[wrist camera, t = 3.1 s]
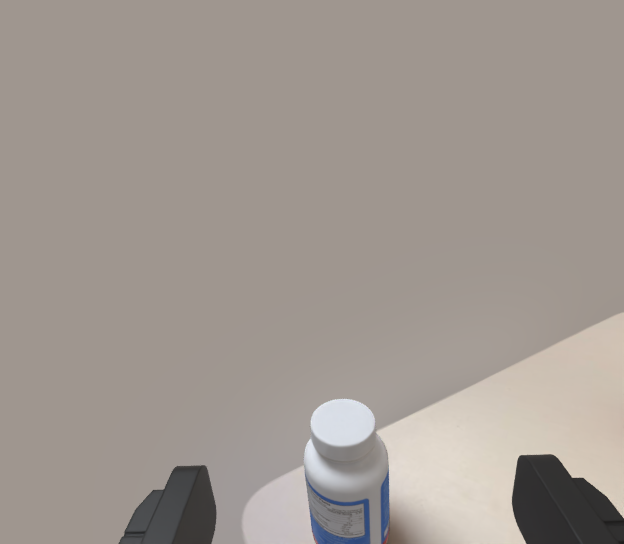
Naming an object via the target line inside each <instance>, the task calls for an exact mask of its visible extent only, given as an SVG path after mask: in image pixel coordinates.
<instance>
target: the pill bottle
mask: <svg viewBox="0 0 624 544" xmlns="http://www.w3.org/2000/svg"><path fill="white" fill-rule="evenodd" d="M310 425H311V438H310V440H309V442H308V444H307V445H306V448H305V452H304V468H305V477H306V485H307V493H308V501H309V509H310V517H311V526H312V532H313V536H314V540H315V542H316V544H387V541H388V536H389V464H388V453H387V450H386V447H385V445H384V443H383V441H382V440H381V438H380V437H379V436H378V435H377V434H376V423H375V417H374V415H373V413H372V412H371V410H370V409H369V408H368V407H367V406H365V405H364V404H362V403H360V402H358V401H354V400H350V399H336V400H331V401H329V402H326V403H324V404H322V405H321V406H320V407H318V408H317V409H316V410H315V412H314V413H313V415H312V418H311V423H310Z"/></svg>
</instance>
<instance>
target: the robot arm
mask: <svg viewBox="0 0 624 544" xmlns="http://www.w3.org/2000/svg"><path fill="white" fill-rule="evenodd" d="M512 506H513V512H514V516H515V519H516V522H517V525H518V527H519V529H520V531H521V533H522V535H523V537H524V540H525V542H526V544H624V518H623V517H622V516H621V514H620V513H619V512H618V511H617V509H616V508H615V507H614V505H613V504H612V503H611V502H610V500H609V499H608V498H607V497H606V496H605V495H604V494H602V493H601V492H600V491H599V490H597V489H596V488H595V487H594V486H592V485H591V484H590V483H589V482H587V481H586V480H585V479H584V478H572V477H571V476H570V474H569V473H568V471H567V470H566V469H565V467H564V466H563V465H562V463H561V462H560V461H559V459H558V458H557V457H556V456H554V455H551V454H548V455H521V456H519V458H518V461H517V468H516V475H515V481H514V488H513V495H512ZM215 524H216V505H215V500H214V496H213V492H212V487H211V483H210V478H209V474H208V470H207V468H206V466H204V465H202V466H177V467H175V468H174V470H173V471H172V473H171V475H170V477H169V480H168V482H167V484H166V486H165V489H164V490H153V491H152V492H151V493H150V494H149V495H148V496H147V497H146V499H145V500H144V501H143V502H142V503H141V504H140V505H139V506H138V508H137V509H136V510H135V512H134V514H133V516H132V518H131V520H130V522H129V524H128V526H127V528H126V530H125V534H124V537H122V538H121V540H120V542H119V544H211V542H212V539H213V535H214V531H215Z"/></svg>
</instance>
